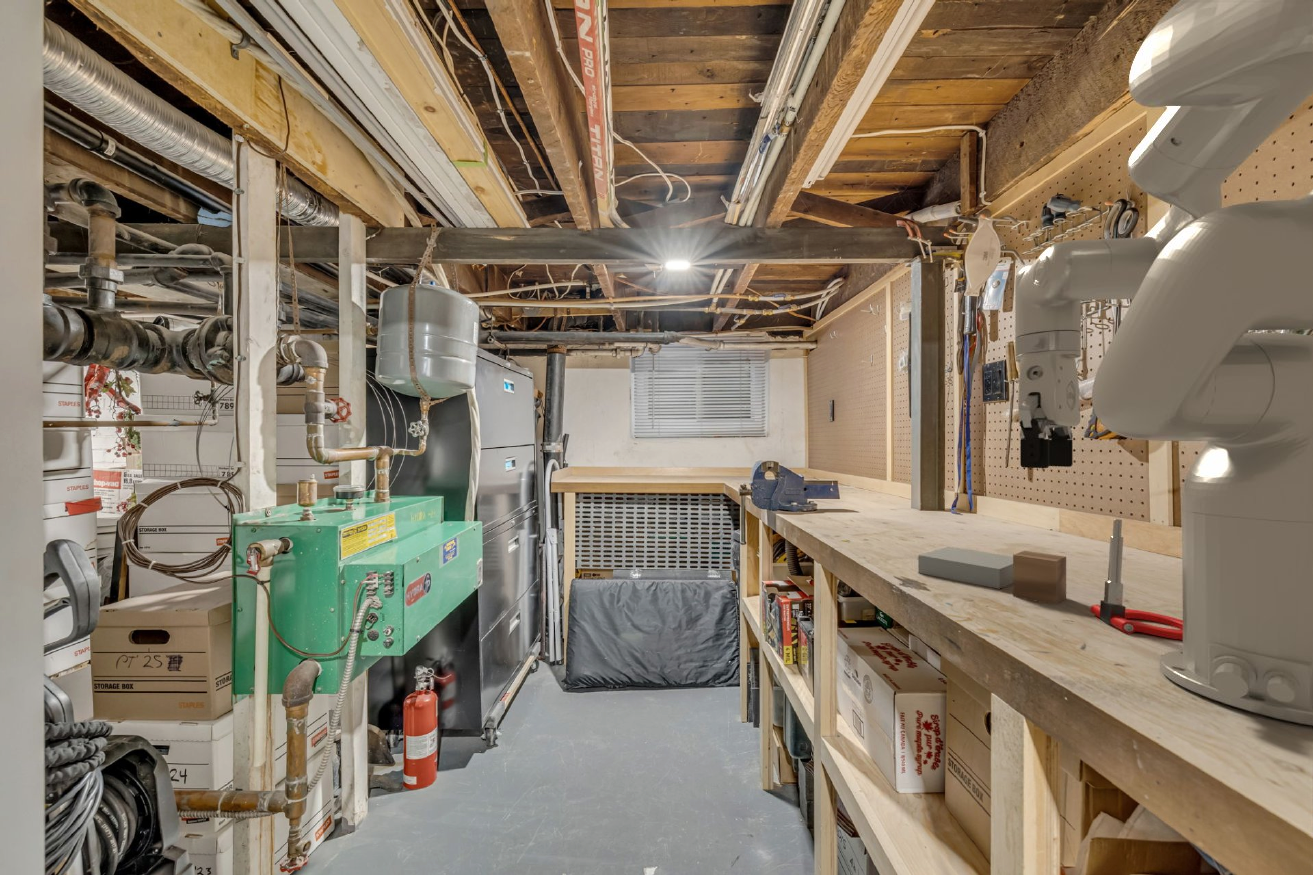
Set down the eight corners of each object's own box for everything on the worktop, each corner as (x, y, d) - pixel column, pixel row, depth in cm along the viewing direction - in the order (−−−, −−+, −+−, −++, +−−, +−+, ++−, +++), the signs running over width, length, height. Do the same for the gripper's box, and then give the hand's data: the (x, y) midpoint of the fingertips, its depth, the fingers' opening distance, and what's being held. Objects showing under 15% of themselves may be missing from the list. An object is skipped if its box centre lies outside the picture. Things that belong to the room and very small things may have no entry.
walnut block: (1055, 605, 69) (1055, 561, 69) (1013, 596, 73) (1013, 554, 73) (1066, 598, 72) (1066, 556, 73) (1024, 590, 76) (1024, 550, 76)
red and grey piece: (1172, 623, 64) (1084, 612, 66) (1178, 521, 64) (1090, 514, 66) (1227, 649, 56) (1125, 636, 58) (1234, 532, 56) (1131, 524, 58)
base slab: (999, 589, 77) (999, 569, 77) (918, 572, 86) (918, 555, 86) (1025, 576, 84) (1025, 558, 84) (948, 563, 94) (948, 546, 94)
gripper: (1058, 336, 65) (1058, 469, 65) (1098, 351, 75) (1098, 467, 75) (992, 345, 71) (992, 467, 71) (1037, 358, 82) (1037, 465, 81)
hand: (1047, 467), depth 73 cm, fingers open, 9 cm apart
